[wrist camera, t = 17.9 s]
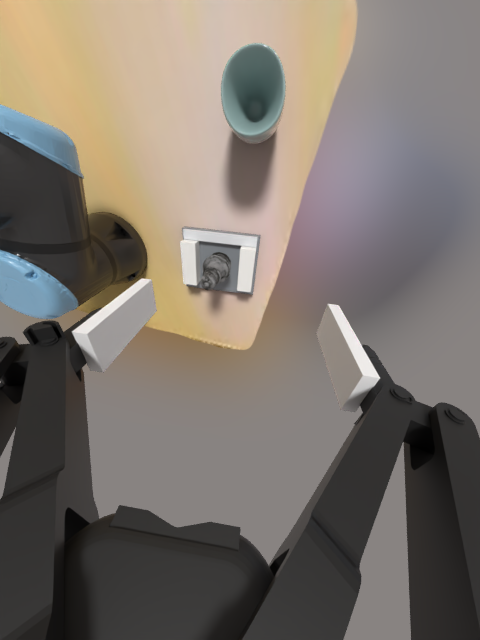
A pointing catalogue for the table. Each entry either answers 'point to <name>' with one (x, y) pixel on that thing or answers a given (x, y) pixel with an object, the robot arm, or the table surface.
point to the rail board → (230, 243)
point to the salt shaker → (215, 270)
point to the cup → (253, 92)
